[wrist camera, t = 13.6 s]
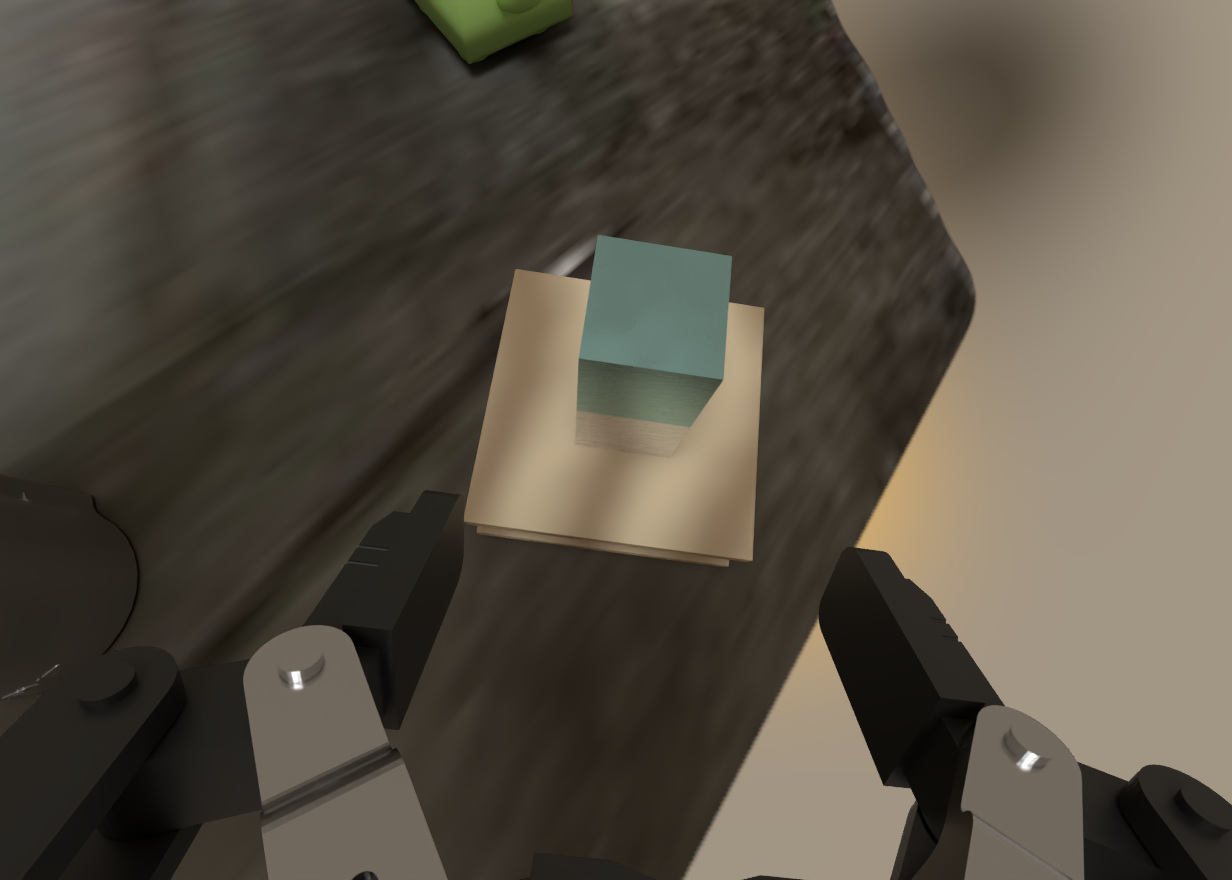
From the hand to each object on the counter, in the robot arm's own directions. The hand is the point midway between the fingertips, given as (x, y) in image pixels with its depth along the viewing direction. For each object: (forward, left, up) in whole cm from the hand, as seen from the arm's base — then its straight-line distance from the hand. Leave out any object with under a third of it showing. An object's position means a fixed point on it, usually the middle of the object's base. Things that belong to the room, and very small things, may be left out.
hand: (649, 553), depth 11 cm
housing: (-8, +4, -15) cm, 17 cm away
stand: (-8, +4, -20) cm, 21 cm away
